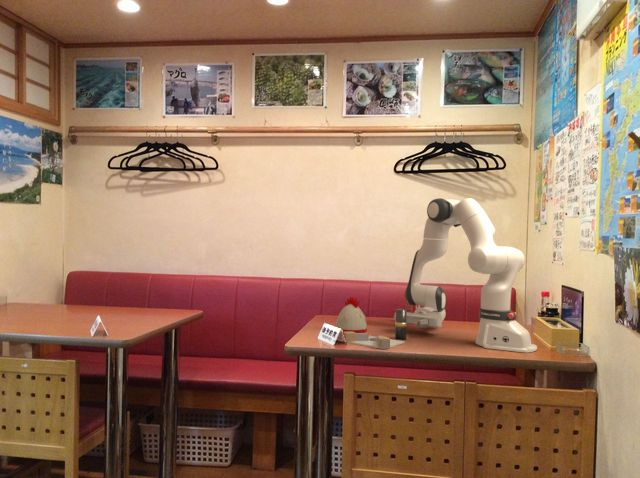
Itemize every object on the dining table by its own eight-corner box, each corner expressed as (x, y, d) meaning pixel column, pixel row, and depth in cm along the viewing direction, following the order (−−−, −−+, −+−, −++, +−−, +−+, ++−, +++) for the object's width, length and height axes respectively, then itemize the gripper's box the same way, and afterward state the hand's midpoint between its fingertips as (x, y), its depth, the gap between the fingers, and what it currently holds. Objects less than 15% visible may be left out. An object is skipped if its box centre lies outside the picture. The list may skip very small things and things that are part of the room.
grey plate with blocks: (408, 343, 196) (408, 333, 196) (386, 350, 183) (386, 340, 183) (357, 335, 211) (357, 326, 211) (334, 341, 197) (334, 331, 197)
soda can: (418, 322, 249) (419, 298, 249) (420, 324, 242) (420, 299, 242) (404, 321, 250) (405, 297, 250) (405, 324, 243) (406, 299, 243)
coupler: (408, 339, 206) (409, 309, 206) (402, 340, 202) (403, 310, 202) (398, 337, 208) (398, 308, 209) (392, 339, 205) (393, 309, 205)
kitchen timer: (350, 335, 211) (351, 299, 211) (328, 330, 222) (329, 296, 222) (373, 331, 221) (374, 297, 221) (351, 327, 231) (351, 294, 231)
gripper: (402, 308, 228) (387, 310, 217) (445, 312, 216) (431, 316, 205) (402, 321, 228) (387, 325, 217) (444, 327, 216) (430, 331, 205)
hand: (408, 321), depth 211 cm, fingers open, 8 cm apart
